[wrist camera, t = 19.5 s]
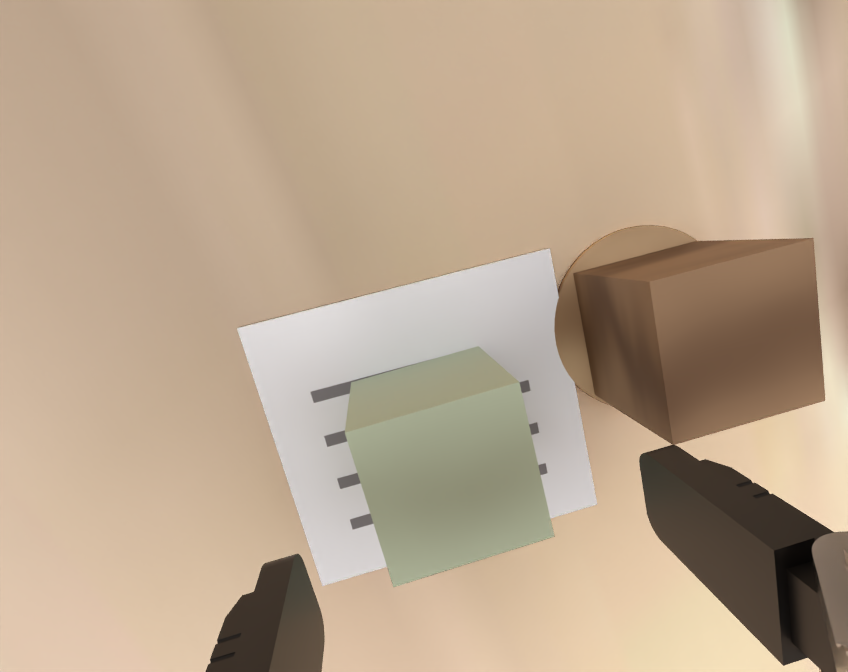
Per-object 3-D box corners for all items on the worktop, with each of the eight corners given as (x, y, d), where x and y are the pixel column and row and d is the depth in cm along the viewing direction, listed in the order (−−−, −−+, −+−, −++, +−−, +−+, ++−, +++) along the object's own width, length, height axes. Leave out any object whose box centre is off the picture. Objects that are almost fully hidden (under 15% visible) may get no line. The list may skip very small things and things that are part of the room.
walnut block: (572, 273, 20) (649, 281, 14) (694, 241, 20) (813, 238, 15) (594, 394, 21) (673, 445, 16) (709, 362, 21) (825, 400, 16)
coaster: (535, 251, 20) (538, 251, 19) (712, 206, 20) (717, 205, 20) (569, 426, 21) (572, 428, 21) (732, 379, 22) (737, 381, 22)
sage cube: (351, 382, 20) (344, 432, 14) (478, 346, 20) (519, 382, 14) (386, 499, 21) (393, 586, 15) (506, 463, 21) (554, 536, 16)
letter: (239, 327, 19) (236, 328, 19) (547, 248, 20) (550, 248, 19) (323, 581, 21) (322, 586, 21) (594, 501, 22) (597, 504, 22)
